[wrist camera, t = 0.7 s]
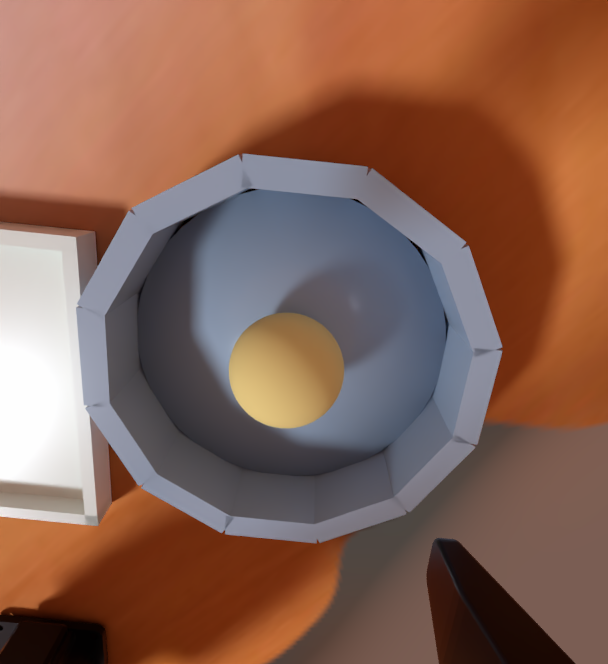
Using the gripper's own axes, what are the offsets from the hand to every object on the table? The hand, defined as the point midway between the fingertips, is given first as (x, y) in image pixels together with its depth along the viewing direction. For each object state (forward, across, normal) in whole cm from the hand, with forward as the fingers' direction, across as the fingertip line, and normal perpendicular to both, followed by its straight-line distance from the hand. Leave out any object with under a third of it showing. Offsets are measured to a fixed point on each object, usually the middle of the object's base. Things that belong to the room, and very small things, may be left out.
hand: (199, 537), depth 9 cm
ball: (+9, -1, +1) cm, 9 cm away
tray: (+12, +13, +3) cm, 18 cm away
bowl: (+12, -1, +1) cm, 12 cm away
